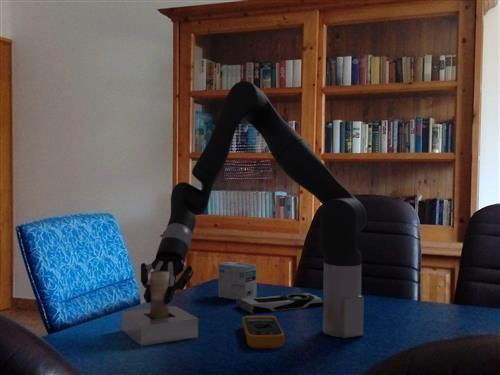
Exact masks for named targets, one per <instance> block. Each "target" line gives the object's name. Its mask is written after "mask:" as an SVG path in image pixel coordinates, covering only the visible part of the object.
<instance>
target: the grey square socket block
mask: <svg viewBox="0 0 500 375" xmlns="http://www.w3.org/2000/svg"><path fill="white" fill-rule="evenodd" d="M121 316H122V321H121V322H122V324H121V331H122V332H123V333H125V335H127V336H129V337H130V338H131V339H132V340H134V341H135V343H137V344H138V345H139V346H140V347H143V346H150V345H155V344H156V345H157V344H162V343H169V342H175V341H176V342H177V341H181V340H188V339H196V338H199V318H198V317H196V316H195V315H192V314H190V313H189V312H188V311H185V310H183V309H181V308H180V307H178V306H177V305H173V306H169V318H162V319H154V320H151V319H150V308H146V309H137V310H130V311H122V313H121Z"/></svg>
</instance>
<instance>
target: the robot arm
mask: <svg viewBox="0 0 500 375" xmlns="http://www.w3.org/2000/svg"><path fill="white" fill-rule="evenodd" d="M243 119H244V120H245V121H246V122H248V123H249V124H250V125H251V126H252V127H253V128H254V129H255V130H256V131H257V132H258V133H259V134H260V136H261V137H262V138H263V140H264V143H265V144H266V146H267V148H268V150H269V152H270V154H271V156H272V157H273V159H274V161H275V162H276V163H277V165H278V166H279V167H280V168H281V169H282V170H283V172H284V173H285V174H286V176H288V177H289V178H290V179H291V180H292V181H293V182H295V183H296V184H298V185H299V186H300V187H302V188H303V189H305V190H306V191H308V192H309V193H310V194H311V195H312V196H314V197H315V198H316V199H317V200H318V201H319V203H321V205H322V206H323V208H322V210H321V213H320V214H321V215H320V223H319V224H320V248H321V253H322V255H323V294H322V296H323V298H322V301H323V306H322V332H323V334H326V335H328V336H331V337H336V338H337V337H338V338H342V339H349V338H356V337H360V336H363V335H364V310H365V309H364V308H365V306H364V303H365V300H364V299H365V297H364V296H363V295H362V262H363V256H362V253H361V251H360V250H359V249H358V247H357V234H358V233H360V232H361V231H362V230H364V229H365V227H366V225H367V222H368V214H367V211H366V208H365V207H364V205H363V203H362V202H361V201H360V200H359V199H357V197H356V196H354V195H353V194H352V193H351V192H350V191H349V190H348V189H347V188H346V187H345V186H343V185H342V183H340V182H339V181H338V180H337V178H336V177H335V176H334V175H333V174H332V171H330V170H329V169H328V167H327V166H326V164H325V163H324V162H323V161H322V160H321V158H319V156H318V155H317V154H316V153H315V151H314V150H313V149H312V148H311V147H310V145H309V144H308V142H306V141H305V140H304V139H303V137H302V136H301V135H300V134H299V133H298V132H297V131H296V130H295V129H294V128H293V127H292V126H290V125H289V124H288V123H287V122H286V121H285V120H284V119H283V118H282V117H281V116H280V114H279V113H278V111H277V110H276V108H275V107H274V106H273V104H272V103H271V101H270V100H269V98H268V96H267V95H266V94H265V92H264V91H263V90H261V89H260V88H259V87H258V86H257V85H255V84H254V83H252V81H251V82H250V81H248V80H241V81H238V82H236V83H234V85H233V86H231V88H230V89H229V91H228V93H227V96H226V97H225V100H224V102H223V106H222V108H221V111H220V114H219V116H218V119H217V121H216V123H215V126H214V128H213V130H212V133H211V135H210V138H209V140H208V141H207V143H206V145H205V147H204V149H203V151H202V153H201V154H200V155H199V157H198V159H197V161H196V162H195V165H194V166H193V168H192V170H191V175H192V176H193V178H195V179H196V180H198V181H199V182H200V183H201V189H200V188H198V187H196V186H194V185H192V184H190V183H188V182H186V181H180V182H178V183H176V184H175V186H174V187H173V189H172V191H171V195H170V218H169V220H168V222H167V225H166V228H165V230H164V232H163V233H162V238H161V240H160V243H159V245H158V248H157V251H156V254H155V259H154V260H153V261H152V262H151V263H149V264H146V263H145V262H144V263H143V262H142V263H141V264H140V282H141V284H142V287H143V288H144V289H145V290H144V293H143V299H144V301H145V302H146V304H150V282H151V277H150V278H149V274H151V272H152V270H153V271H168V272H169V287H168V288H167V290H166V293H165V296H164V303H165V304H170V303H172V302H173V298H174V295H175V292H176V291H178V290H179V291H183V290H184V289H185V287H186V286H187V284H188V283H189V281H190V280H191V278H192V277H193V275H194V273H195V272H194V269H193V267H192V265H185V264H186V260H187V258H188V253H189V250H190V248H191V243H192V236H193V233H194V230H195V227H196V224H197V219H196V218H197V217H196V216H200V215H202V214H203V213H204V212H205V211H206V209H207V208H208V205H209V201H210V197H211V193H212V190H213V187H214V184H215V182H216V180H217V178H218V177H219V174H221V171H222V169H223V168H224V166H225V164H226V162H227V160H228V157H229V155H230V151H231V147H232V146H231V145H232V143H233V138H234V136H235V133H236V131H237V128H238V127H239V125H240V124H241V122H242V121H243ZM181 273H182V274H181ZM180 274H181V275H180ZM178 275H180V276H179V278H178V280H177V276H178Z"/></svg>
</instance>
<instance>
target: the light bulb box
mask: <svg viewBox="0 0 500 375" xmlns="http://www.w3.org/2000/svg"><path fill="white" fill-rule="evenodd" d="M257 266H258V265H257V264H256V263H245V262H236V261H225V262H219V263H218V270H217V271H218V274H217V278H218V280H217V283H218V284H217V285H218V286H217V287H218V292H217V293H218V294H217V295H218V296H217V297H218V298H222V297H223V299H228V298H229V299H231V300H235V299H239V298H258V297H257V296H258V295H257V294H258V292H257V282H258V281H257V274H258V273H257V272H258V271H257Z"/></svg>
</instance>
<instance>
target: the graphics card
mask: <svg viewBox="0 0 500 375" xmlns="http://www.w3.org/2000/svg"><path fill="white" fill-rule="evenodd" d="M239 307H241V308H240V309H241V310H243V311H245V310H246V313H249V312H250V313H249V314H251V315H252V314H253V315H252V316H255V313H257V314H265V313H264V312H266V313H275V312H274V311H276V312H284V311H294V310H300V309H301V310H302V309H309V308H319V307H323V298H321V297H320V296H319V297H318V295H313V294H312V293H307V292H304V293H302V292H301V293H291V294H286V295H285V294H283V295H274V296H266V297H264V296H263V297H262V296H261V297H256V298H239V299H236V300H235V308H239Z"/></svg>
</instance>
